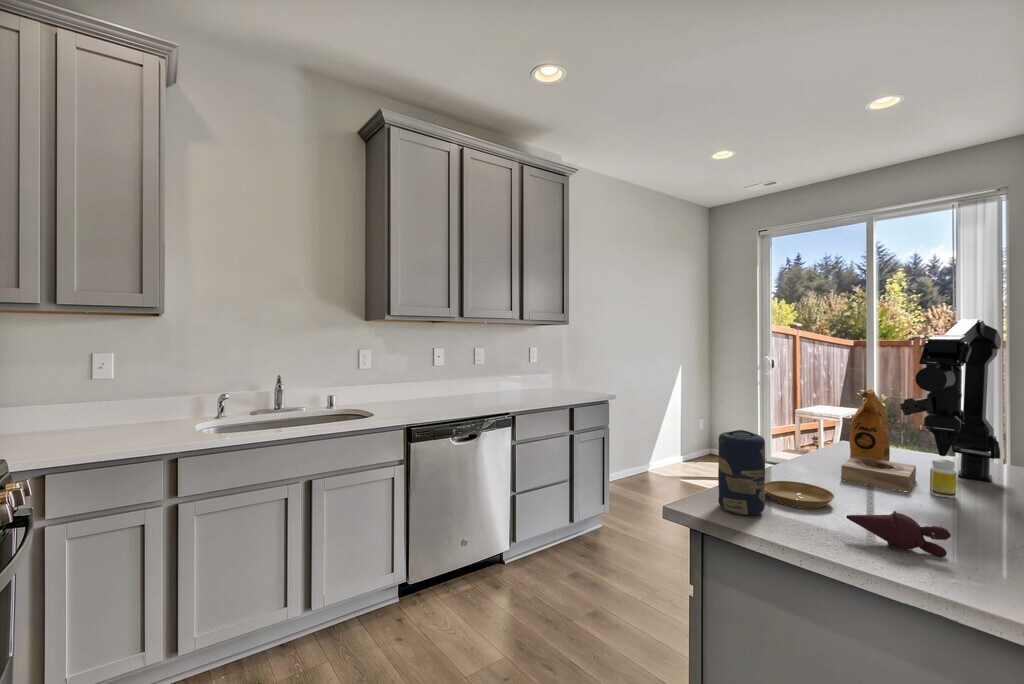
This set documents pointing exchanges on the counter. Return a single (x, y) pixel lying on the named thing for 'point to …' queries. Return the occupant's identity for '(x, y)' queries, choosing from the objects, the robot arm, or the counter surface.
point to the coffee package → (870, 430)
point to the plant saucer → (788, 494)
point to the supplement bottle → (943, 478)
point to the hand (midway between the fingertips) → (943, 452)
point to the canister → (741, 472)
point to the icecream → (903, 532)
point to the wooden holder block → (879, 473)
